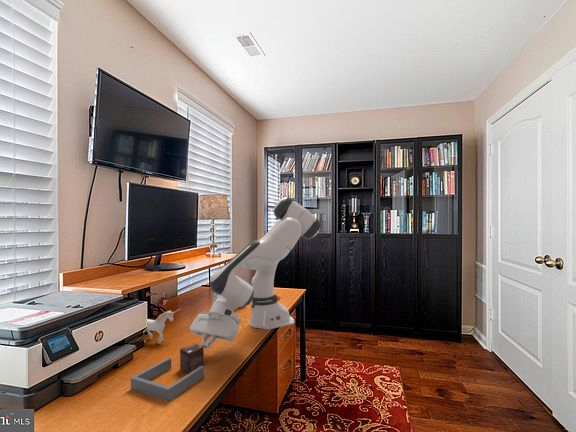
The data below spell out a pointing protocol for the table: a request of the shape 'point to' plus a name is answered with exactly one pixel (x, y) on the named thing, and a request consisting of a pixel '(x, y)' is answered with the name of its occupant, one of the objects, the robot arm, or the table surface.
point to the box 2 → (191, 357)
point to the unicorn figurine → (159, 324)
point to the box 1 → (161, 391)
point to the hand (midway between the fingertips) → (204, 347)
